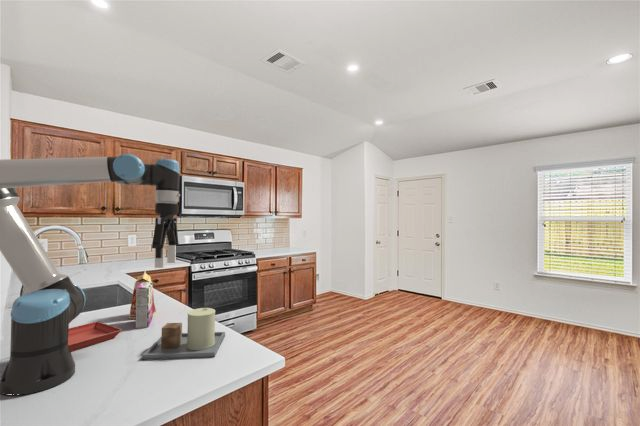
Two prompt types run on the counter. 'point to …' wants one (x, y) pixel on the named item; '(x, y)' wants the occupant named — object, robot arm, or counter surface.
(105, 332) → the plant saucer
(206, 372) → the counter surface
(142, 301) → the candy bar box
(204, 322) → the can
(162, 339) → the walnut block
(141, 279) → the milk carton
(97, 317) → the counter surface
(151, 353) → the tray
